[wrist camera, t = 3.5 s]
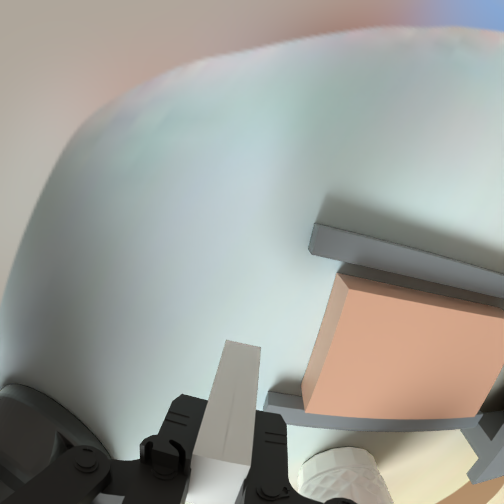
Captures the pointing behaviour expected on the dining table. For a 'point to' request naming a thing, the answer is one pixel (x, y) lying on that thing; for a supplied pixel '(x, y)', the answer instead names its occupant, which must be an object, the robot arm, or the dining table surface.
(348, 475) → the white cup
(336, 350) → the salmon pink tile
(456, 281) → the overhang dock
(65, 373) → the dining table surface
